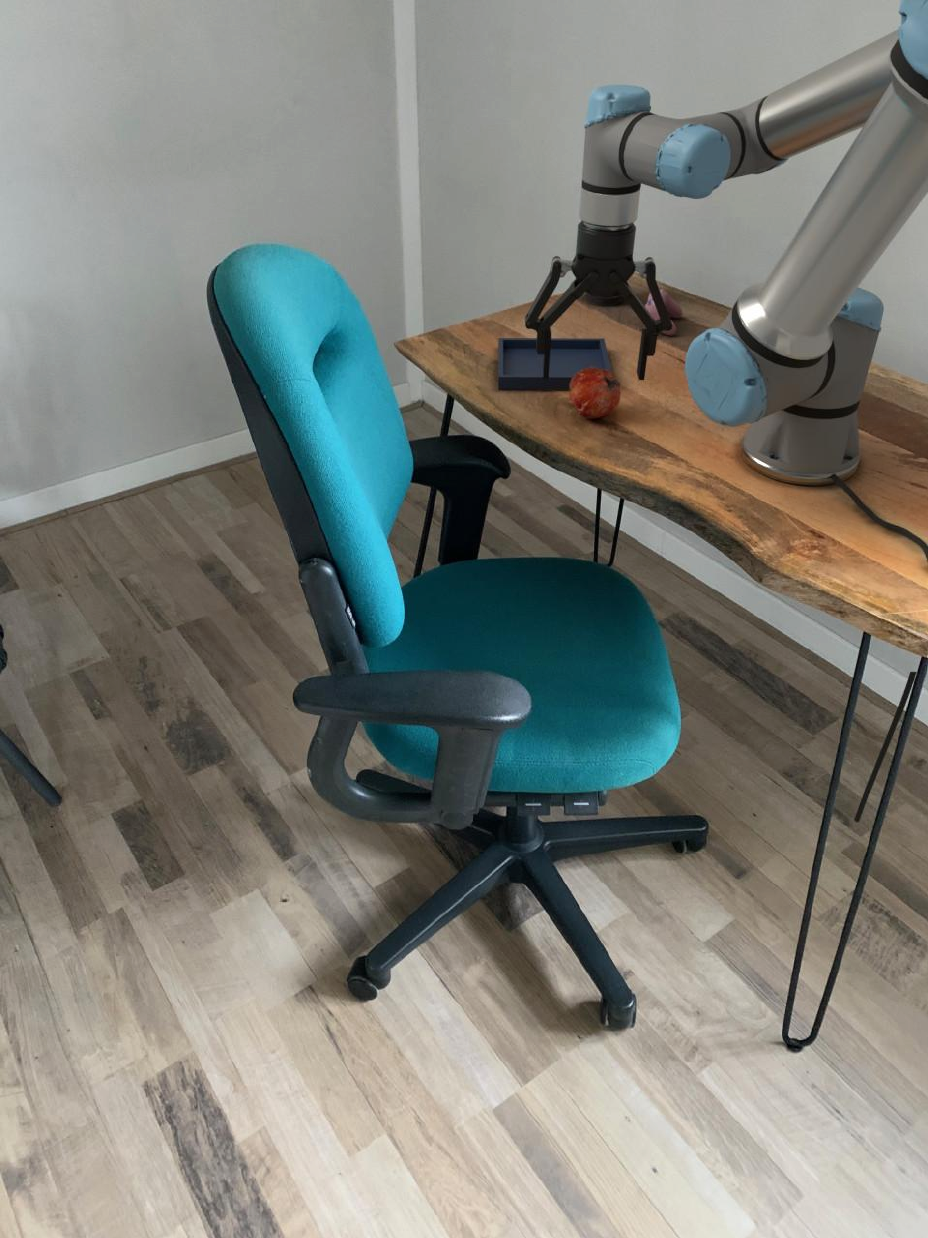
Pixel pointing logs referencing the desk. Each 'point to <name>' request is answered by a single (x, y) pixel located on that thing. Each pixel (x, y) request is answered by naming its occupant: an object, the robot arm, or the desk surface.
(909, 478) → the desk surface
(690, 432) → the desk surface
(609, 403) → the pomegranate
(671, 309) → the video game controller
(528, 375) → the tray
